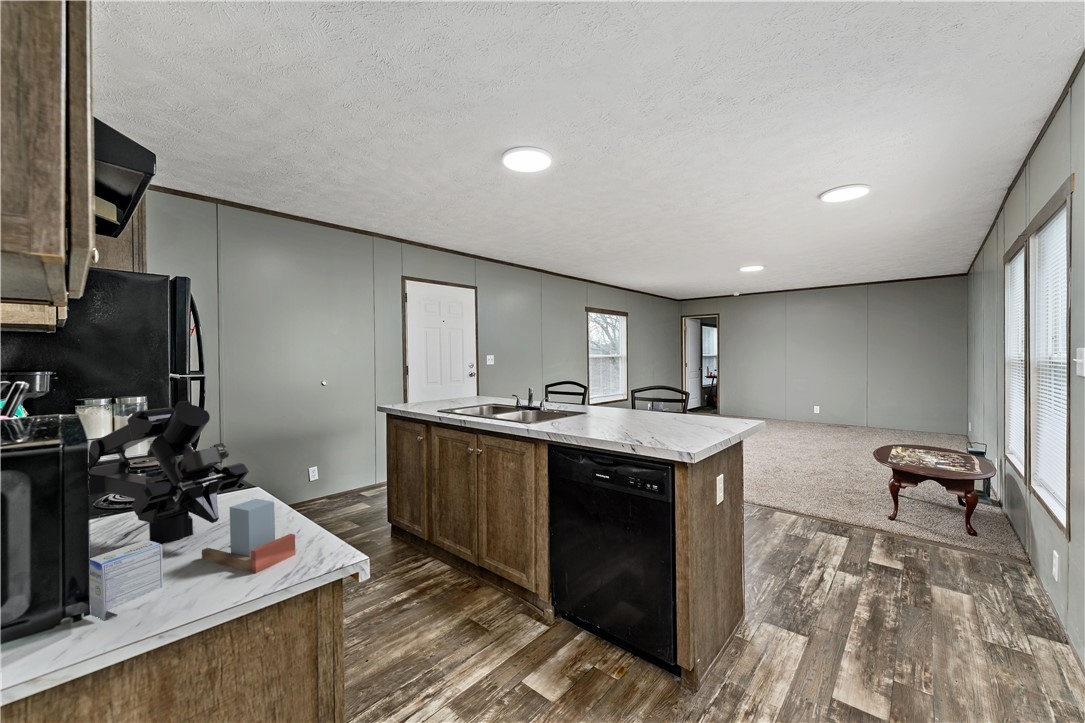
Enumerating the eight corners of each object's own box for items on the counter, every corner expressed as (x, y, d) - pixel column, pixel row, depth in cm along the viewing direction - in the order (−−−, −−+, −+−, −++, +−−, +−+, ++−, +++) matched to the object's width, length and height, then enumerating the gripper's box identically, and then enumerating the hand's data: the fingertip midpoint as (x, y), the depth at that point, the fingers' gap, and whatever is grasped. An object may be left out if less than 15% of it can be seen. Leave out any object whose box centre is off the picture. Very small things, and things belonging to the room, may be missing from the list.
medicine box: (148, 590, 78) (146, 538, 78) (164, 595, 76) (162, 543, 76) (87, 615, 71) (85, 558, 70) (104, 622, 69) (101, 564, 69)
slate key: (231, 561, 85) (229, 507, 85) (256, 550, 89) (255, 498, 89) (250, 566, 83) (248, 510, 83) (275, 554, 88) (274, 501, 87)
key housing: (197, 567, 85) (196, 539, 85) (244, 548, 94) (244, 522, 94) (253, 583, 80) (253, 553, 80) (299, 560, 88) (298, 533, 88)
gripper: (139, 442, 83) (180, 512, 79) (241, 425, 100) (279, 482, 96) (115, 481, 86) (153, 550, 82) (218, 458, 103) (254, 514, 100)
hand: (215, 521), depth 90 cm, fingers closed
